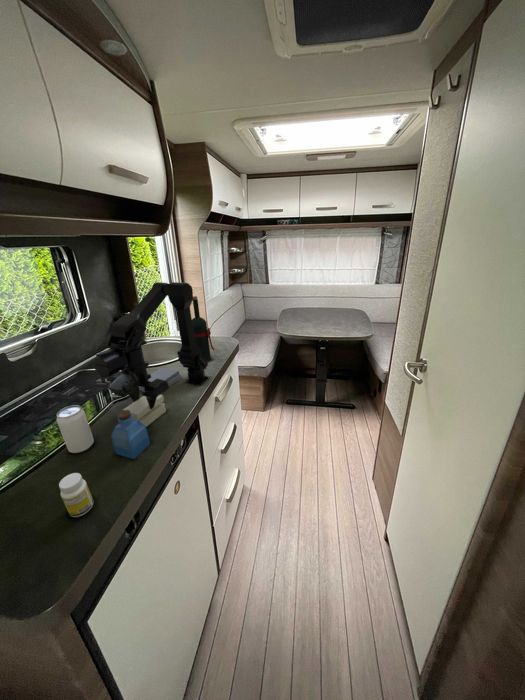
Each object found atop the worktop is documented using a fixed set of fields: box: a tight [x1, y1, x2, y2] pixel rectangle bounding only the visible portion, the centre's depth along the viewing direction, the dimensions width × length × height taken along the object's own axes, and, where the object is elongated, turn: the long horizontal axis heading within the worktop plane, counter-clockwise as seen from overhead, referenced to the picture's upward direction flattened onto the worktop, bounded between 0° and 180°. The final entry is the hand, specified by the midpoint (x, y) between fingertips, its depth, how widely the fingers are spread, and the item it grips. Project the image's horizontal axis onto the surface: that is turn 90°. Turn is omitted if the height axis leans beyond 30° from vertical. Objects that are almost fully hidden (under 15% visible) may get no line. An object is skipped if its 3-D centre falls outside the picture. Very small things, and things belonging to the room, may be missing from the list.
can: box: [56, 404, 95, 454], centre depth 77 cm, size 6×6×12 cm
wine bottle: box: [191, 295, 215, 362], centre depth 126 cm, size 8×10×30 cm
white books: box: [133, 402, 167, 428], centre depth 90 cm, size 11×6×3 cm, turn 156°
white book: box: [122, 394, 165, 420], centre depth 89 cm, size 11×6×2 cm, turn 156°
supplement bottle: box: [58, 472, 94, 518], centre depth 60 cm, size 5×5×8 cm
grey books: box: [139, 367, 182, 393], centre depth 110 cm, size 14×9×4 cm, turn 156°
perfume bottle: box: [110, 409, 151, 460], centre depth 76 cm, size 6×6×12 cm
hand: (144, 406), depth 89 cm, fingers closed on white book, 6 cm apart
